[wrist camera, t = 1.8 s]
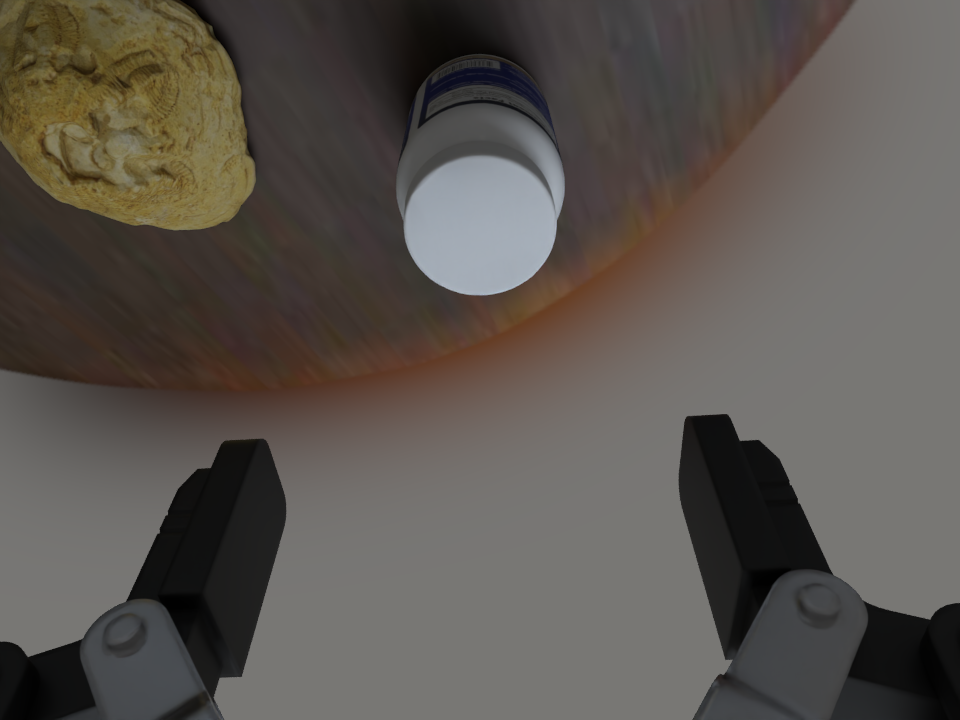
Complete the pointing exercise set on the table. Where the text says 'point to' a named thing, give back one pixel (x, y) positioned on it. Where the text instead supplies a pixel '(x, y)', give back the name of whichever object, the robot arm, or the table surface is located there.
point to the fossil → (124, 110)
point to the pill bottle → (479, 176)
